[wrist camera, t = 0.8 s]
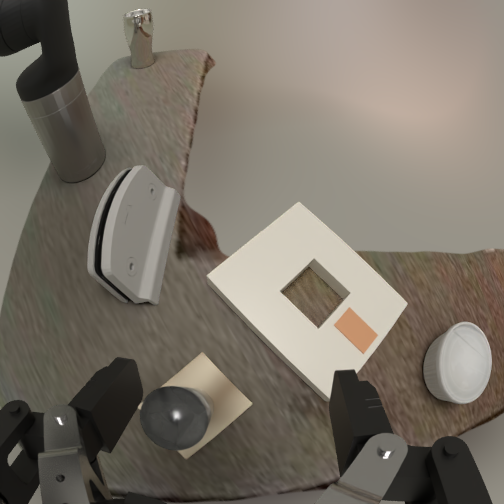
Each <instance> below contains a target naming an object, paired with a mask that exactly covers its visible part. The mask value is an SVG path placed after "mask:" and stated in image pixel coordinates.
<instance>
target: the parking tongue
mask: <svg viewBox="0 0 504 504" xmlns="http://www.w3.org/2000/svg"><path fill="white" fill-rule="evenodd" d="M165 386H178V387H188V388H197V389H201V390H203V391H205V392H206V393H207V394H208V395H209V396H210V397H211V399H212V401H213V404H214V412H213V415H212V418H211V420H210V423H209V425H208V428H207V430H206V433H205V435H204V437H203V438H202V439H201V441H200V442H198V443H197V444H196V445H195V446H193V447H191V448H188V449H185V450H177V451H178V452H179V453H180V454H181V455H182V456H183V457H184V458H185V459H188V458H189V457H190V456H191V455H193V454H194V453H195V452H197V451H198V450H199V449H200V448H202V447H203V446H204V445H205V444H207V443H208V442H209V441H210V440H212V439H213V438H214V437H215V436H216V435H218V434H219V433H220V432H221V431H222V430H224V429H225V428H226V427H227V426H228V425H229V424H231V423H232V422H233V421H234V420H235V419H236V418H237V417H239V416H240V415H241V414H242V413H243V412H244V411H245V410H246V409H248V408H249V407H250V406H251V405H252V404H253V403H251V402H250V401H249V400H248V399H247V398H246V397H245V396H244V395H243V394H242V393H241V392H240V391H239V390H238V389H237V388H236V387H235V386H234V385H233V384H232V383H231V382H230V381H229V380H228V379H227V378H226V376H225V375H224V374H223V373H222V372H221V371H220V370H219V369H218V368H217V367H216V366H215V365H214V364H213V363H212V362H211V361H210V360H209V358H208V357H207V356H206V355H205V354H204V353H203V352H202V353H201V354H200V355H198V356H197V357H196V358H195V359H194V360H193V361H191V362H190V363H189V364H188V365H187V366H185V367H184V368H183V369H182V370H181V371H180V372H178V373H177V374H176V375H175V376H174V377H172V378H171V379H170V380H169V381H168V382H166V383H165V384H164V385H163V386H162V387H165ZM160 388H161V387H160ZM142 404H143V402H142V403H141V404H139V406H138V408H139V409H140V410H141V406H142Z"/></svg>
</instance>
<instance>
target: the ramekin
mask: <svg viewBox="0 0 504 504" xmlns="http://www.w3.org/2000/svg"><path fill="white" fill-rule="evenodd" d="M491 366H492V358H491V351H490V346H489V343H488V341H487V338H486V336H485V335H484V333H483V332H482V331H481V329H480V328H479V327H477V326H476V325H475V324H473V323H470V322H461V323H458V324H455V325H453V326H452V327H451V328H449V329H448V330H447V332H445V333H444V334H442V335H441V336H439V337H438V338H437V339H435V340H434V341H433V343H432V344H431V345H430V347H429V349H428V351H427V353H426V356H425V360H424V366H423V373H424V379H425V383H426V385H427V388H428V389H429V391H430V392H431V394H433V395H434V396H435V397H436V398H438V399H440V400H444V401H450V402H453V403H457V404H466V403H470V402H472V401H474V400H475V399H477V398H478V397H479V396H480V395H481V393H482V392H483V391H484V389H485V387H486V385H487V383H488V380H489V377H490V373H491Z"/></svg>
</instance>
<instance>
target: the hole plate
mask: <svg viewBox="0 0 504 504" xmlns="http://www.w3.org/2000/svg"><path fill="white" fill-rule="evenodd" d="M308 267H310V268H311V269H312V270H313V271H314V272H315V273H316V274H317V275H318V276H319V277H320V278H321V279H322V280H324V281H325V282H326V283H327V284H328V285H329V286H330V287H331V288H332V289H333V290H334V291H335V292H336V293H337V294H338V295H339V296H340V297H341V298H342V299H343V300H342V301H341V302H340V304H339V305H338V306H337V307H336V308H335V309H334V310H333V311H332V313H331V314H330V315H329V316H328V317H327V318H326V319H325V320H324V321H323V322H322V324H321V325H320V326H319V327H318V328H317V327H316V326H315V325H314V324H313V323H312V322H311V321H310V320H309V319H308V318H307V317H306V316H305V315H304V314H303V313H302V312H301V311H299V310H298V309H297V308H296V307H295V306H294V305H293V304H292V303H291V302H290V301H289V300H288V299H287V298H286V297H285V296H284V295H283V294H282V292H283V291H284V290H285V289H286V288H287V287H288V286H289V285H290V284H291V283H292V282H293V281H294V280H295V279H296V278H297V277H298V276H299V275H301V274H302V273H303V272H304V271H305V270H306V269H307V268H308ZM207 283H208V285H209V286H210V287H211V288H212V289H213V290H214V291H215V292H216V293H217V294H218V295H219V296H220V297H221V298H222V299H223V301H224V302H225V303H226V304H227V305H228V306H229V307H230V308H231V309H232V310H233V311H234V312H235V313H236V314H237V315H238V316H239V317H240V318H241V319H242V320H243V321H244V322H245V323H246V324H247V326H248V327H249V328H250V329H251V330H252V331H253V332H254V333H255V334H256V335H257V336H258V337H259V338H260V339H261V340H262V341H263V342H264V343H265V344H266V345H267V346H268V347H269V348H270V349H271V350H272V351H273V352H274V353H275V354H276V355H277V356H278V357H279V358H280V359H281V360H282V361H283V362H284V363H286V364H287V365H288V366H289V367H290V368H291V369H292V370H293V371H294V372H295V373H296V374H297V375H298V376H299V377H300V378H301V379H302V380H303V381H304V382H305V383H306V384H307V385H308V386H310V387H311V388H312V389H313V390H314V391H315V392H316V393H317V394H318V395H319V396H320V397H321V398H322V399H323V400H325V401H330V396H331V390H332V384H333V377H334V372H335V370H350V369H354V370H355V372H356V373H357V372H358V371H359V370H360V369H361V367H362V366H363V365H364V364H365V362H366V361H367V360H368V358H369V357H370V356H371V355H372V353H373V352H374V351H375V349H376V348H377V347H378V345H379V344H380V343H381V341H382V340H383V339H384V337H385V336H386V335H387V333H388V332H389V330H390V329H391V328H392V326H393V325H394V323H395V322H396V320H397V319H398V317H399V316H400V315H401V313H402V312H403V310H404V309H405V307H406V306H407V304H408V303H407V302H406V301H405V300H404V299H403V298H402V297H401V296H400V295H399V294H398V293H397V292H396V291H395V290H394V289H393V288H392V287H391V286H390V285H389V284H388V283H387V282H386V281H385V280H384V279H383V278H382V277H381V276H380V275H379V274H378V273H377V272H376V271H375V270H374V269H372V268H371V267H370V266H369V265H368V264H367V263H366V262H365V261H364V260H363V259H362V258H361V257H360V256H359V255H358V254H357V253H356V252H355V251H353V250H352V249H351V248H350V247H349V246H348V245H347V244H346V243H345V242H344V241H343V240H341V239H340V238H339V237H338V236H337V235H336V234H335V233H334V232H333V231H332V230H330V229H329V228H328V227H327V226H326V225H325V224H324V223H323V222H322V221H320V220H319V219H318V218H317V217H316V216H315V215H314V214H312V213H311V212H310V211H309V210H308V209H307V208H306V207H304V206H303V205H302V204H301V203H300V202H298V203H296V204H295V205H294V206H293V207H292V208H290V209H289V210H288V211H286V212H285V213H284V214H283V215H281V216H280V217H279V218H278V219H276V220H275V221H274V222H273V223H272V224H270V225H269V226H268V227H266V228H265V229H264V230H263V231H261V232H260V233H259V234H258V235H256V236H255V237H254V238H253V239H251V240H250V241H249V242H248V243H246V244H245V245H244V246H243V247H241V248H240V249H239V250H238V251H236V252H235V253H234V254H233V255H231V256H230V257H229V258H228V259H227V260H225V261H224V262H223V263H222V264H220V265H219V266H218V267H217V268H215V269H214V270H213V271H212V272H210V273H209V274H208V275H207Z"/></svg>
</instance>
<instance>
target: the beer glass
mask: <svg viewBox="0 0 504 504" xmlns="http://www.w3.org/2000/svg"><path fill="white" fill-rule="evenodd" d="M123 18H124V33H125V37H126V40H127V43H128V46H129V49H130V52H131V67H132V68H135V69H140V68H145V67H148V66H150V65H152V64H153V63H154V62H155V59H154V56H153V53H152V40H153V30H154V29H153V18H152V12H151V9H138V10H134V11H130V12H128V13H126V14H124V15H123Z"/></svg>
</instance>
